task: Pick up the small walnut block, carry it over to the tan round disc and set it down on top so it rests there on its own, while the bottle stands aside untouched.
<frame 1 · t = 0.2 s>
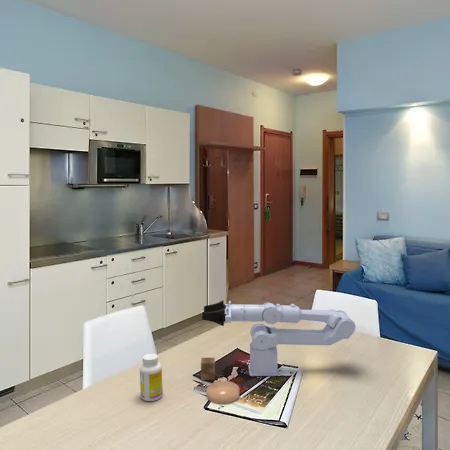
hand: (203, 312, 143), 21 cm above the table, tool horizontal, fingers open, 7 cm apart
walnut block: (208, 377, 141), on the table
supplement bottle: (151, 397, 129), on the table
tan round disc: (223, 396, 129), on the table
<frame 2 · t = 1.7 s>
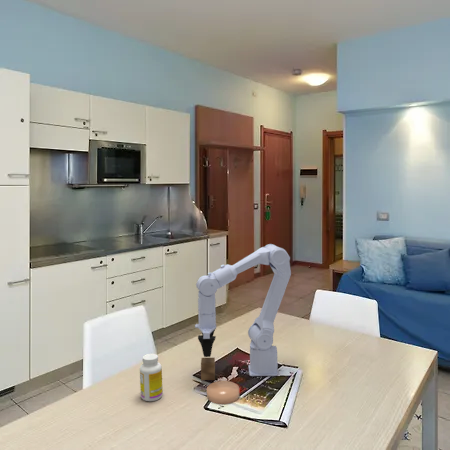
hand: (207, 351, 140), 9 cm above the table, tool pointing down, fingers open, 7 cm apart
nothing on the table moved.
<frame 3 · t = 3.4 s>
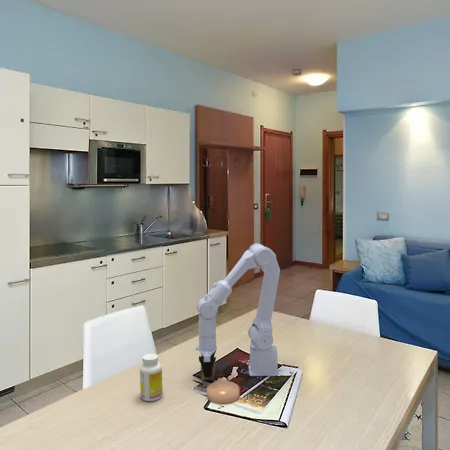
hand: (208, 373, 141), 1 cm above the table, tool pointing down, fingers closed on walnut block, 4 cm apart
walnut block: (208, 377, 141), on the table, touching gripper
everything else where it was.
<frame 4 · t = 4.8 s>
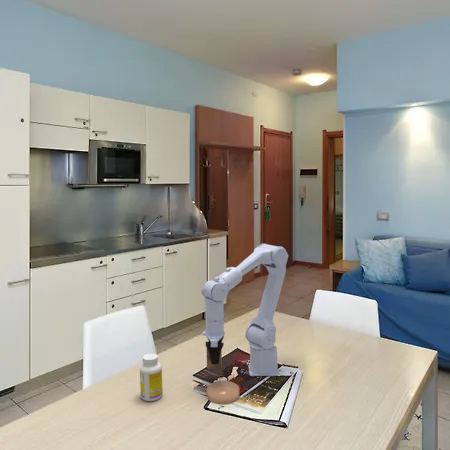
hand: (215, 360, 134), 9 cm above the table, tool pointing down, fingers closed on walnut block, 4 cm apart
walnut block: (214, 365, 134), point 7 cm above the table, touching gripper
everything else where it was.
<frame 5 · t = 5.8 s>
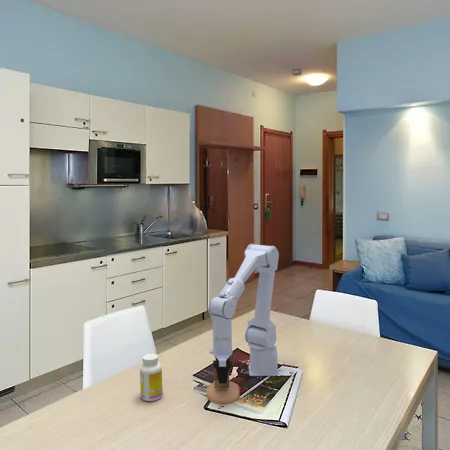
hand: (222, 378, 129), 5 cm above the table, tool pointing down, fingers closed on walnut block, 4 cm apart
walnut block: (221, 384, 129), point 4 cm above the table, touching gripper
everything else where it was.
when the fingers open (5 cm above the table, at t = 6.7 s): walnut block drops 1 cm, resting on tan round disc.
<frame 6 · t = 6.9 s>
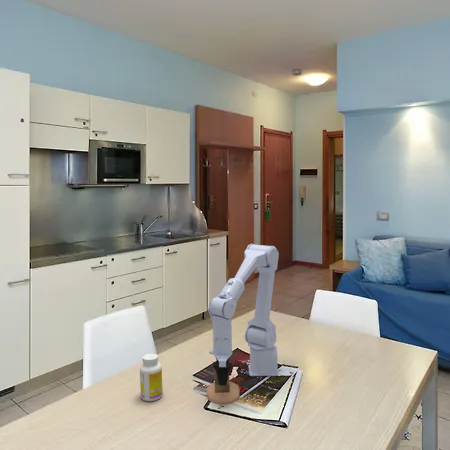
hand: (222, 379, 129), 5 cm above the table, tool pointing down, fingers open, 6 cm apart
walnut block: (222, 388, 129), point 2 cm above the table, touching tan round disc
tan round disc: (223, 396, 129), on the table, touching walnut block
everything else where it was.
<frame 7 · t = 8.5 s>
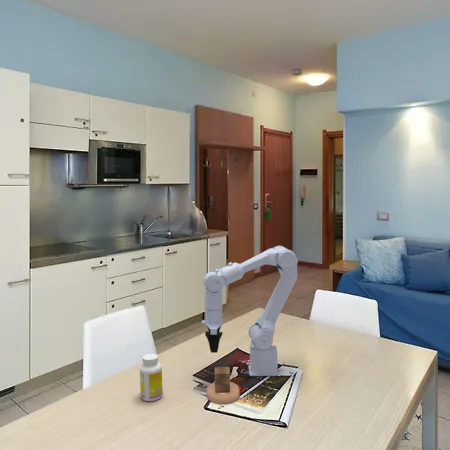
hand: (214, 347, 141), 10 cm above the table, tool pointing down, fingers open, 7 cm apart
nothing on the table moved.
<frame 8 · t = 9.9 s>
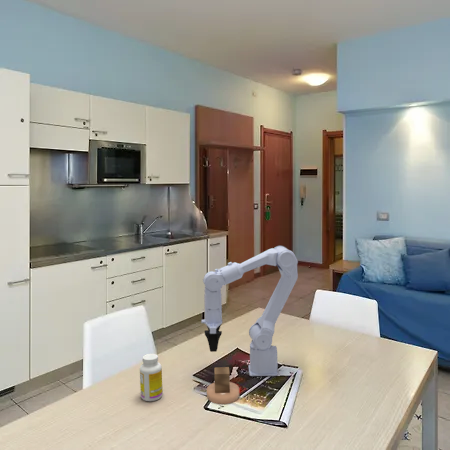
hand: (213, 346, 142), 10 cm above the table, tool pointing down, fingers open, 7 cm apart
nothing on the table moved.
at the end: walnut block 0.3 cm off-centre on the tan round disc, point 2.5 cm above the tan round disc's base; walnut block tilted 0°; the gripper is holding nothing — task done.
